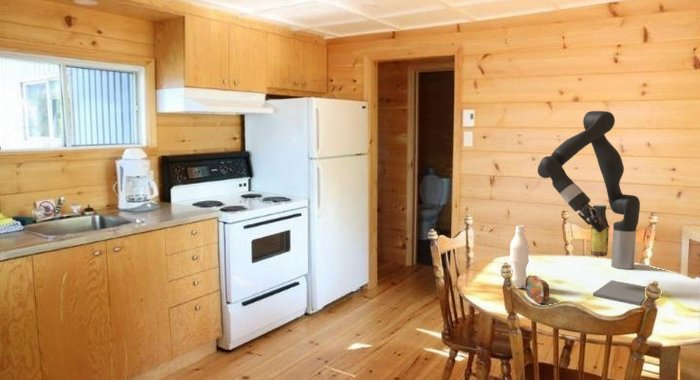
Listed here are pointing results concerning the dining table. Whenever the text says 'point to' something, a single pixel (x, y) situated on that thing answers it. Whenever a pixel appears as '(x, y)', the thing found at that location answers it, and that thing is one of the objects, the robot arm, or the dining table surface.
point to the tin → (537, 289)
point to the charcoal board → (622, 292)
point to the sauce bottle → (600, 239)
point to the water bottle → (519, 257)
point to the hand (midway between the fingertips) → (604, 229)
